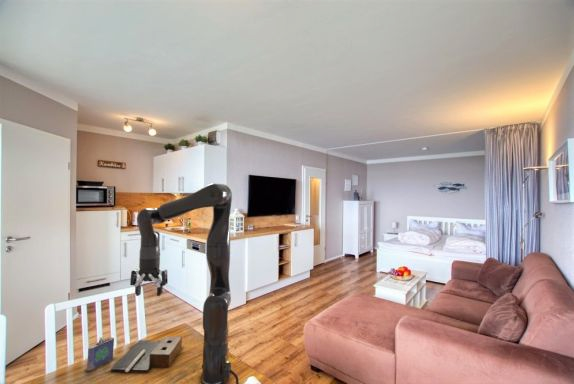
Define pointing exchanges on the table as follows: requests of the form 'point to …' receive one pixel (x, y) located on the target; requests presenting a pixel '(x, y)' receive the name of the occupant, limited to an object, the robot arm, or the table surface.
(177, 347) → the pen stand
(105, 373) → the table surface
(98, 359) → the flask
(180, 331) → the table surface
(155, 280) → the robot arm
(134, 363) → the stylus
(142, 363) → the tablet
